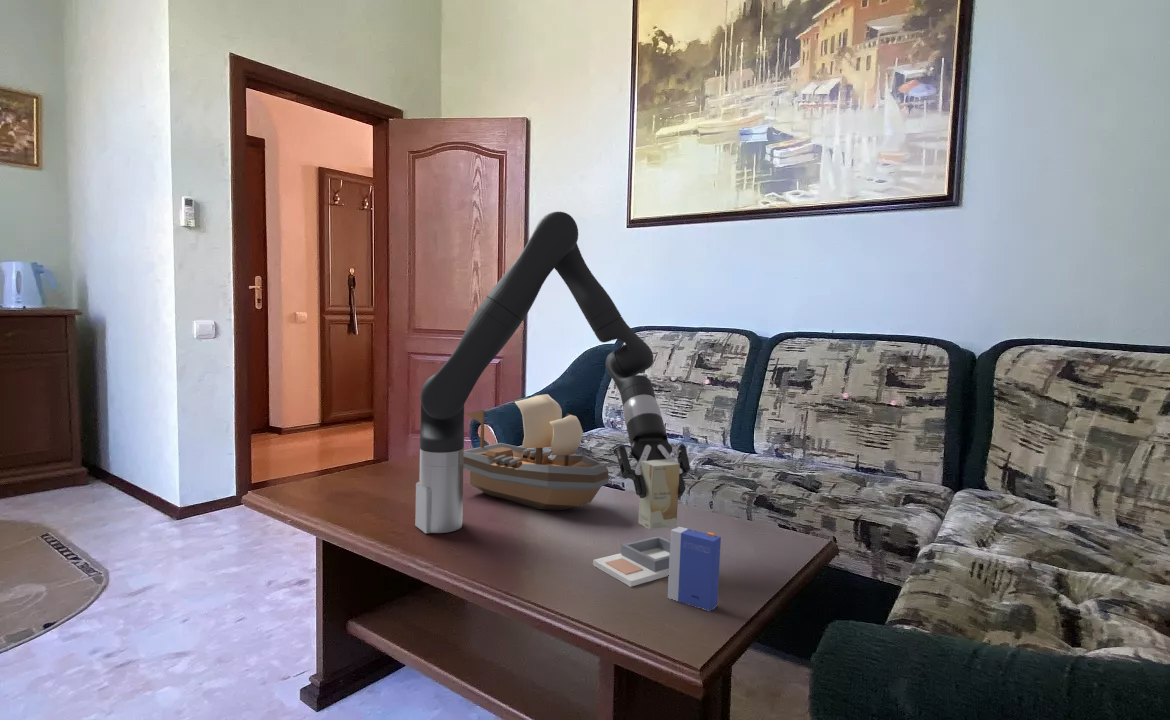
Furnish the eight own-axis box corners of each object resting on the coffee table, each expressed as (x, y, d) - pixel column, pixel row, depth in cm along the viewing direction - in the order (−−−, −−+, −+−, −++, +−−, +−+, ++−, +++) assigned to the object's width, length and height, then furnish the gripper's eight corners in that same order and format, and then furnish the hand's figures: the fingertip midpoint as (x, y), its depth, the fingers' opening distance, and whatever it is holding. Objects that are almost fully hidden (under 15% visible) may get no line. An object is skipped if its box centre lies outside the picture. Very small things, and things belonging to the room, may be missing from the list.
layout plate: (630, 586, 109) (631, 569, 109) (592, 565, 118) (593, 549, 118) (695, 567, 118) (696, 552, 118) (656, 549, 127) (657, 534, 127)
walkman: (717, 606, 103) (721, 534, 102) (710, 612, 101) (713, 539, 100) (674, 592, 107) (677, 523, 107) (666, 598, 105) (670, 528, 104)
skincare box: (650, 531, 116) (652, 466, 115) (637, 523, 120) (639, 460, 119) (678, 526, 119) (681, 463, 118) (665, 519, 123) (667, 457, 122)
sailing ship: (579, 526, 139) (583, 405, 137) (440, 489, 165) (442, 386, 163) (618, 509, 153) (623, 399, 151) (484, 477, 178) (487, 382, 177)
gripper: (614, 411, 124) (630, 487, 113) (682, 411, 127) (704, 484, 116) (606, 433, 129) (620, 506, 119) (672, 432, 132) (691, 503, 122)
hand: (662, 495), depth 118 cm, fingers closed on skincare box, 7 cm apart
